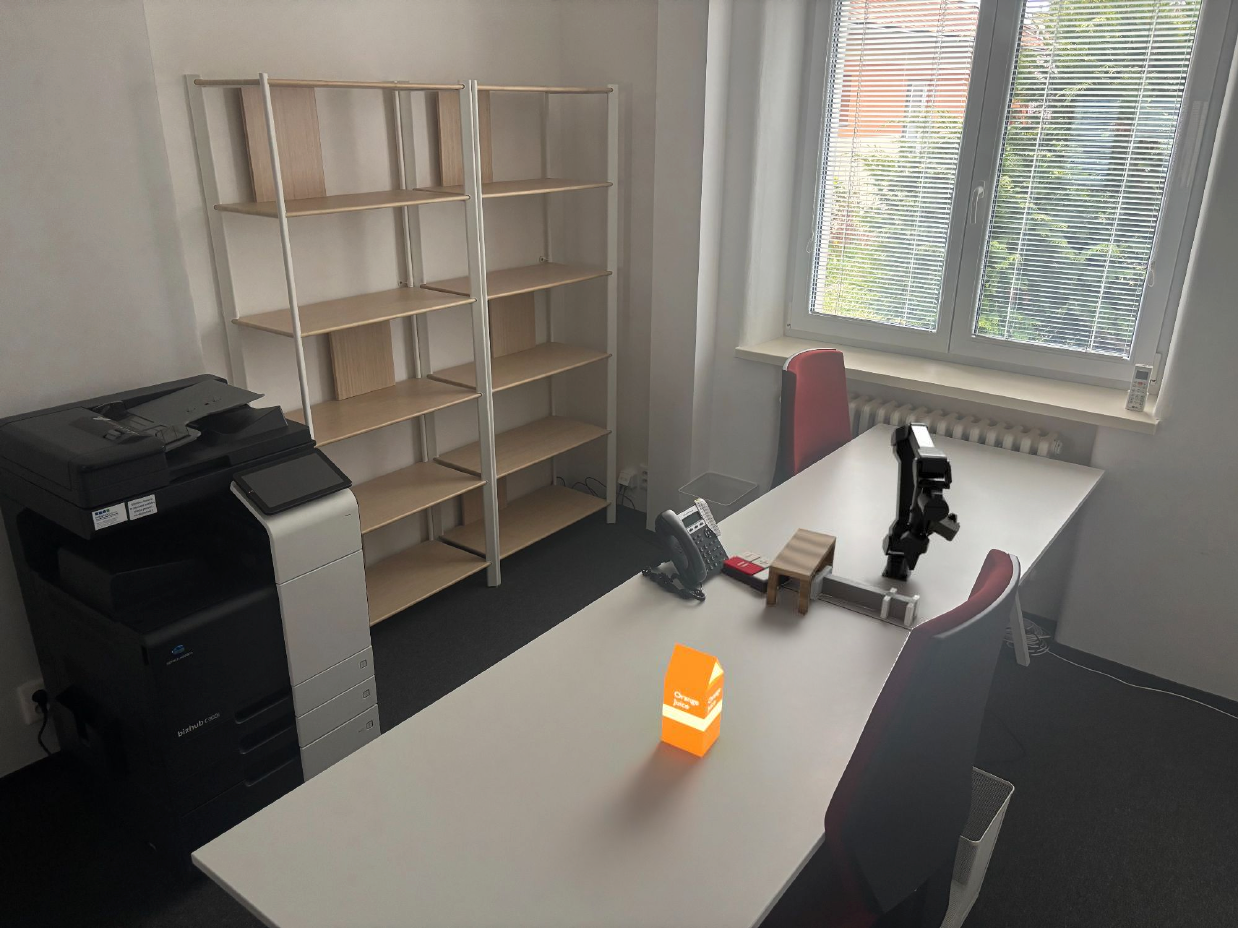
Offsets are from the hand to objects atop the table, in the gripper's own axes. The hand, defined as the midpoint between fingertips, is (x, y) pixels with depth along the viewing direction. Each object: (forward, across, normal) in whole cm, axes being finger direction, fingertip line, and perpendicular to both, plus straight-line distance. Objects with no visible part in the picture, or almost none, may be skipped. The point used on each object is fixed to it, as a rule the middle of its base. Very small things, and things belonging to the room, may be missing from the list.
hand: (915, 562), depth 213 cm
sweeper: (+12, -5, +10) cm, 16 cm away
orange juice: (+12, -73, +27) cm, 79 cm away
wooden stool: (+12, -6, +26) cm, 29 cm away
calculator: (+13, -5, +38) cm, 41 cm away
